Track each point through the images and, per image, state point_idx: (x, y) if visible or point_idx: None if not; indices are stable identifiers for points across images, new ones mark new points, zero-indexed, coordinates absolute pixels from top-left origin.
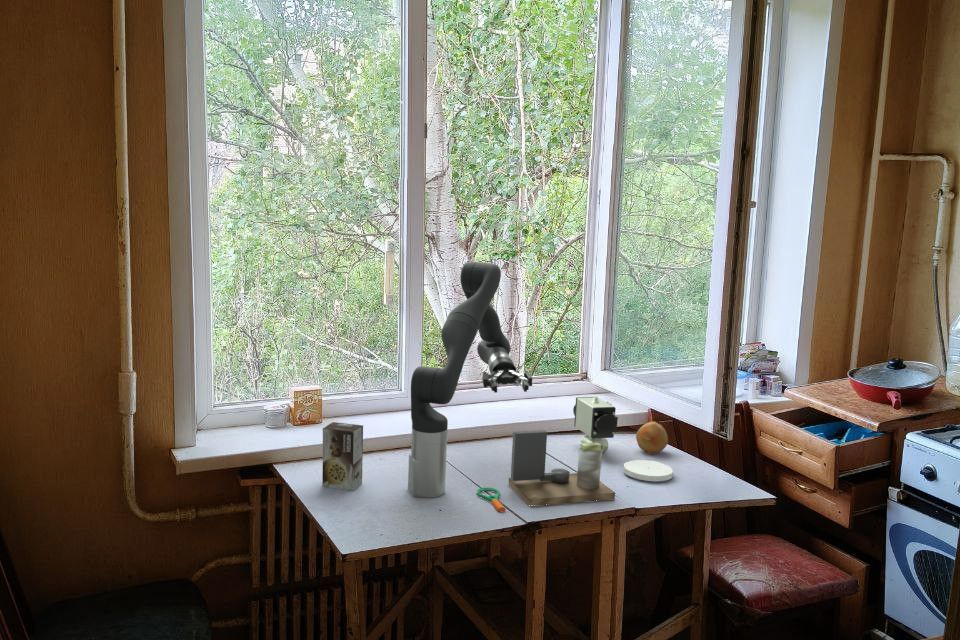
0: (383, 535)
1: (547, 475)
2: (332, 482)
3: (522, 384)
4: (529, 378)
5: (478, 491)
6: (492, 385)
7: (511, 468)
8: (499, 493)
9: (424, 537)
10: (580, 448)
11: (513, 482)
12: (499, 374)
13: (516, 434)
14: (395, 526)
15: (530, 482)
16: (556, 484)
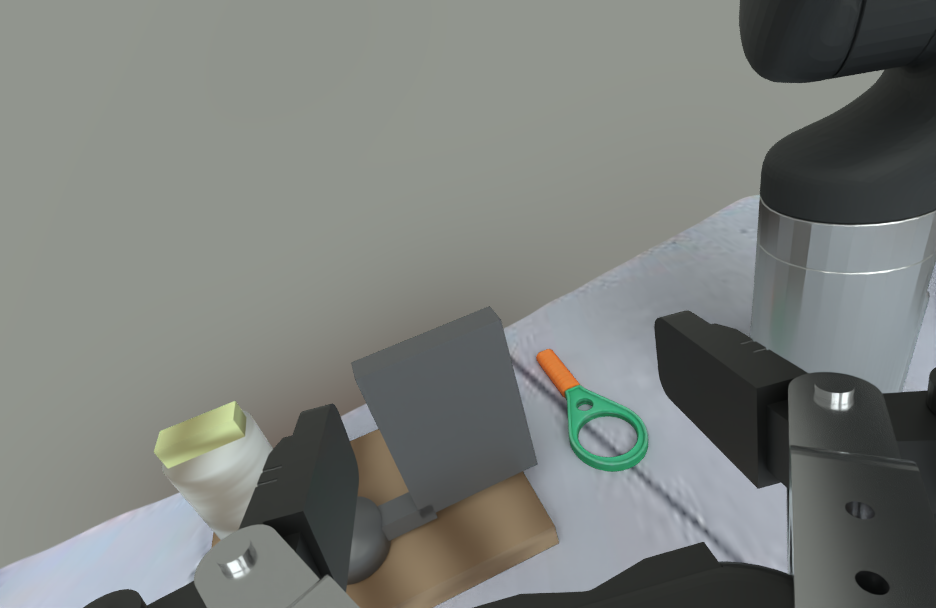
0: (737, 230)
1: (400, 496)
2: None
3: (330, 547)
4: (138, 595)
5: (641, 430)
6: (735, 335)
7: (528, 433)
8: (568, 428)
9: (662, 247)
10: (243, 432)
11: (529, 483)
12: (811, 535)
13: (486, 310)
14: (741, 253)
15: (468, 501)
16: None
